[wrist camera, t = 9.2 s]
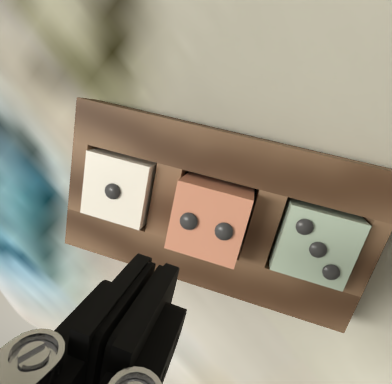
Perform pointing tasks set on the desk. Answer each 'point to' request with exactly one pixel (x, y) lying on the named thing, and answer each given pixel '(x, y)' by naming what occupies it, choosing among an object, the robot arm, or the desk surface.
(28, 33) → the desk surface
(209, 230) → the button two dots
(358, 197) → the button board
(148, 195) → the button one dot
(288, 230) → the button three dots
